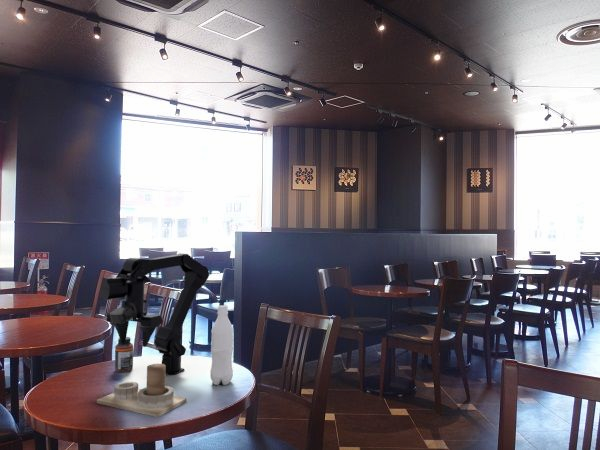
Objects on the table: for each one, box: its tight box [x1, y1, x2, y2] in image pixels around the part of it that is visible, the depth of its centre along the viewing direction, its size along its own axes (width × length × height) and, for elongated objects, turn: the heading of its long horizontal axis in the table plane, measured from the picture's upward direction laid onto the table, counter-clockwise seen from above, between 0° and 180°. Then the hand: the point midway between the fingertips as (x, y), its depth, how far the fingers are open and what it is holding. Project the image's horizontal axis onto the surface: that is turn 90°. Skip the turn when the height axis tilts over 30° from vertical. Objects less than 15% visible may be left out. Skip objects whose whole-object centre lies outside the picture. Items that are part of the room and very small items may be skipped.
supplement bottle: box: [114, 336, 134, 373], centre depth 158 cm, size 6×6×11 cm
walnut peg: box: [146, 363, 166, 396], centre depth 127 cm, size 5×5×10 cm
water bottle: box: [209, 304, 234, 386], centre depth 146 cm, size 7×7×25 cm
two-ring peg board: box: [96, 381, 187, 418], centre depth 129 cm, size 12×22×4 cm, turn 66°
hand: (133, 345), depth 146 cm, fingers open, 9 cm apart
